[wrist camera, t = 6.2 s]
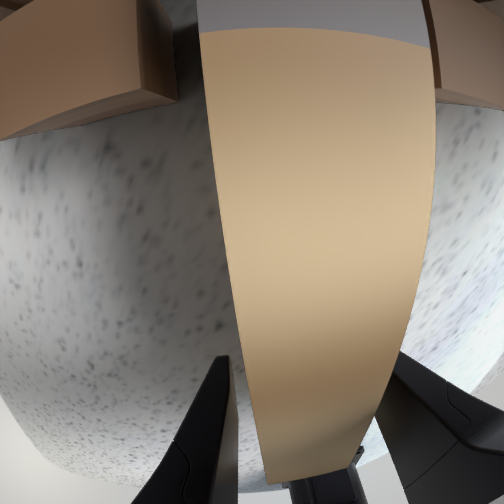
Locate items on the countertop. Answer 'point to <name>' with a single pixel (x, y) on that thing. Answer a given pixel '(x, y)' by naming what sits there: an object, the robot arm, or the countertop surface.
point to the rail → (320, 207)
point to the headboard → (163, 63)
